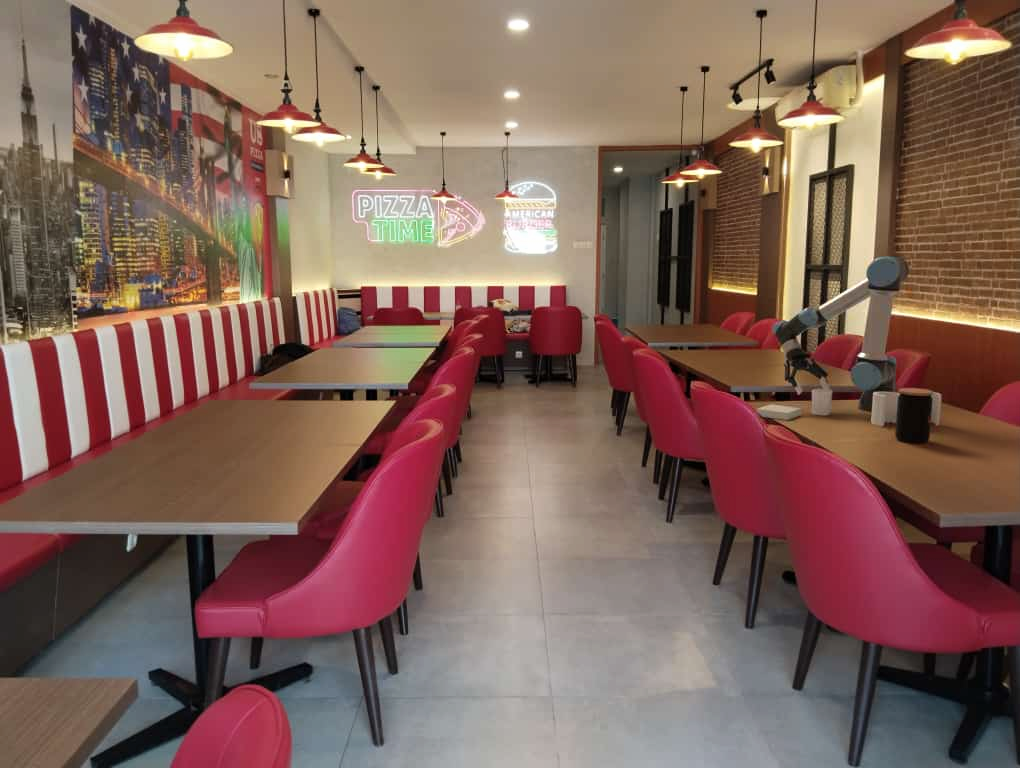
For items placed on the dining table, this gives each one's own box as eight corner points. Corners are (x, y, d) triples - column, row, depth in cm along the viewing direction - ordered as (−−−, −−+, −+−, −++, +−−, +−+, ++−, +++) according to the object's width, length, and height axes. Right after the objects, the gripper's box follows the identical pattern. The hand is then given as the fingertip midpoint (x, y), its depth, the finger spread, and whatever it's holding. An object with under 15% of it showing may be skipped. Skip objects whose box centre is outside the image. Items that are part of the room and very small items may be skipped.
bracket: (927, 420, 296) (930, 390, 294) (942, 426, 286) (945, 395, 284) (866, 421, 295) (868, 391, 293) (878, 427, 286) (880, 396, 284)
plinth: (800, 415, 308) (800, 408, 307) (787, 420, 298) (787, 413, 298) (770, 411, 317) (770, 404, 316) (756, 415, 307) (756, 408, 307)
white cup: (832, 416, 306) (834, 392, 304) (812, 415, 307) (814, 391, 306) (828, 412, 313) (830, 389, 312) (809, 411, 315) (810, 388, 313)
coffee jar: (933, 444, 258) (938, 393, 255) (901, 443, 259) (904, 392, 256) (922, 437, 268) (926, 388, 265) (890, 436, 270) (894, 387, 267)
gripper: (813, 356, 330) (834, 395, 319) (764, 358, 324) (784, 398, 312) (822, 345, 324) (844, 385, 313) (772, 348, 318) (793, 388, 306)
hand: (814, 391), depth 312 cm, fingers open, 13 cm apart
